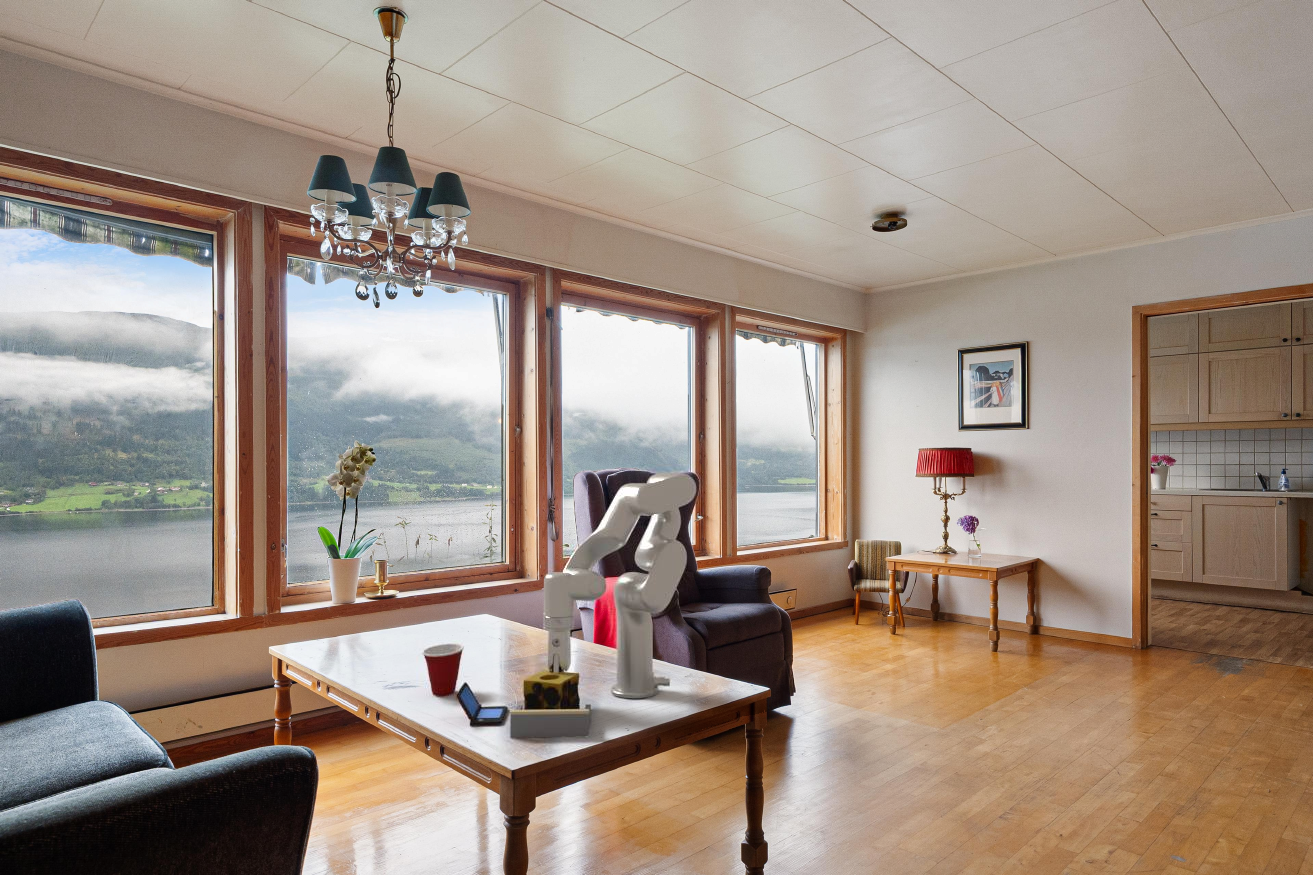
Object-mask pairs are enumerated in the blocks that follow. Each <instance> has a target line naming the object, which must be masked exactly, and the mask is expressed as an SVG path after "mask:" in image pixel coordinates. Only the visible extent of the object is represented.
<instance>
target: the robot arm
mask: <svg viewBox="0 0 1313 875" xmlns="http://www.w3.org/2000/svg"><path fill="white" fill-rule="evenodd" d="M696 493H697V484H696V481H695V480H694V479H693V477H691V476H690V475H689V474H688V473H687V474H686V473H682V472H680V473H679V472H677V473H676V472H675V473H674V472H673V473H672V472H669V473H667V472H665V473H663V472H661V473H656V474H652V475H651V476H650V477H649V478H648V479H647V481H646V483H644V482H643V483H642V482H641V483H638V482H637V483H635V482H634V483H633V482H632V483H631V482H630V483H626V484H624V485H622V486H621V487H620V488H619V489H618V490H617V492H616V493H615V496H613V499H612V501H611V503H610V504H609V507H608V508H607V510H606V512H605V513H604V516H603V518H602V519H601V521H600V523H599V525H598V527H597V528H596V529H595V530H594V531H593V532H592V533H591V534H590V535H589V536H588V537H586V538H585V540H583V542H582V543H580V545H579V546H578V547H577V548H576V549H574V551H573V553H571V556H570V558H569V559H568V561H567V563H566V565H565V566H564V569H563V570H562V571H554V572H548V573H546V574H545V576H544V578H543V630H545V631H547V671H554V672H553V673H559V672H568V671H569V669H570V666H571V663H572V658H571V656H572V654H571V652H572V651H571V650H572V649H571V645H572V644H571V630H574V628H575V620H574V619H575V613H574V612H575V601H579V602H580V601H581V602H583V601H585V602H593V601H596V600H598V599H601V598H602V597H603V596H604V594H605V593H606V591H607V581H606V579H605V577H604V576H603V575H602V574H601V573H599V572H597V571H594V570H593V569H594V567H595V566H596V564H597V563H598V562H599V561H601V559H602V558H604V557H605V556H607V555H609V554H611V553H614V552H616V551H618V550H619V549H621V548H622V547H624V546H625V545H626V544H627V542H628V540H629V538H630V536H631V534H632V532H633V531H634V529H635V527H636V525H637V523H638V521H639V519H640V518H641V516H647V517H649V516H650V520H649V522H648V525H647V527H646V530H645V531H644V534H643V535H642V538H641V539H640V542H639V544H638V546H637V548H636V551H635V554H634V561H635V564H636V565H637V567H638V568H640V569H641V570H643V571H645V572H648V573H647V574H646V573H641V572H636V571H631V572H624V573H623V574H621V575H620V576H619V577H618V578H617V580H616V581H615V583H614V586H613V599H614V605H615V611H616V684H614V685H613V686H611V688H610V692H611V694H612V695H613V696H615V697H617V698H623V699H644V698H645V699H646V698H649V697H650V698H651V697H653V696H655V695H657V694H658V693H659V686H661V687H662V686H663V687H670V686H671V683H670V682H671V681H670V677H669V678H668V677H667V678H665V676H664V677H663V676H660V677H657V676H655V674H654V670H653V663H654V662H653V656H654V655H653V650H654V649H653V643H654V642H653V634H654V633H653V632H654V630H653V627H654V626H653V620H652V614H658V613H661V612H663V611H664V610H665V609H666V608H667V607H668V605H669V604H670V602H671V600H672V598H673V596H674V593H675V592H676V589H677V587H678V585H679V583H680V581H681V578H682V576H683V574H684V572H685V569H686V566H687V560H688V557H687V556H688V555H687V550H686V547H685V546H684V544H683V543H682V542H680V540H679V541H678V540H677V536H678V534H679V531H680V528H681V523H682V519H681V512H680V510H679V508H680V507H683V506H686V505H687V504H689V503H691V502H692V501H693V499H695V498H694V497H695V496H696Z"/></svg>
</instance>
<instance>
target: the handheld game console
mask: <svg viewBox="0 0 1313 875" xmlns="http://www.w3.org/2000/svg"><path fill="white" fill-rule="evenodd" d="M455 697H456V700H457V701H458V703H459V705H460V706H461V708H462V709H463V712H464V713H465V714H466V717H467V718H468V720H469V726H470V727H485V726H488V727H492V726H494V727H495V726H502V725H503V722H504V720H505V718H506V715H507V712H508V710H509V707H508V706H507V705H501V706H500V705H499V706H498V705H495V706H491V705H490V706H483V705H482V704H481V703H479V701H478V699H477V698H476V696H475V694H474V692H473V690H472V689H471V687H470V686H469V684H468V682H464V683H463V684H462V685H461V687H460V688H459V690H458V691H457V693H456V696H455Z"/></svg>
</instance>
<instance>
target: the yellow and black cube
mask: <svg viewBox="0 0 1313 875" xmlns="http://www.w3.org/2000/svg"><path fill="white" fill-rule="evenodd" d="M553 672H554V671H552V670H551V671H549V670H548V669H547V670H541V671H539V672H537V673H535V674H532V676H529V677H526V678H524V680H523V682H522V684H523V686H522V687H523V689H522V690H523V691H522V692H523V698H524V699H523V701H524V702H523V703H524V705H523V706H524V707H523V708H524V709H523V710H558V709H581V705H580V704H581V703H580V700H581V698H580V695H579V694H580V693H579V685H580V673H579V672H568V671H566V672H565V671H564V672H559V673H553Z"/></svg>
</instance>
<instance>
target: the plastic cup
mask: <svg viewBox="0 0 1313 875" xmlns="http://www.w3.org/2000/svg"><path fill="white" fill-rule="evenodd" d="M464 647H465V646H464V645H463V644H460V643H444V644H442V643H441V644H437V645H433V646H430V647H427V648H425V649H423V650H422V651H421V654H422V655H423V657H424V659H425V663H426V667H427V673H428V678H429V683H430V689H431V690H430V691H431V693H432V695H433V696H435V697H436V696H437V697H446V696H451V695H453V694H455V691H456V687H457V681H458V678H459V671H460V665H461V659H462V655H463V650H464Z"/></svg>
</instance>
